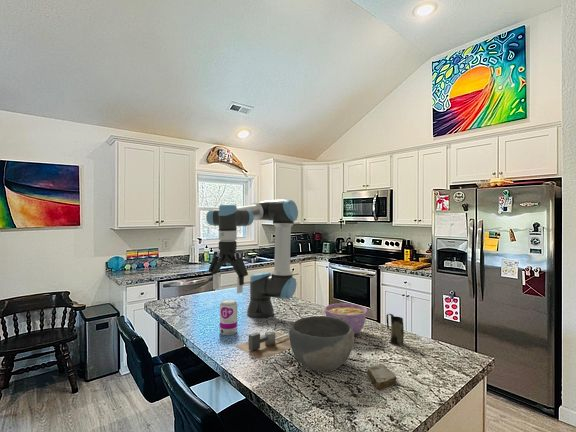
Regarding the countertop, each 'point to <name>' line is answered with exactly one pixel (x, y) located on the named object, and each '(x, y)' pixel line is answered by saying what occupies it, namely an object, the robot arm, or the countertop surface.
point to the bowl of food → (348, 314)
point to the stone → (381, 377)
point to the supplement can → (228, 317)
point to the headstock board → (268, 347)
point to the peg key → (262, 340)
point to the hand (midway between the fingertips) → (227, 290)
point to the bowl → (321, 342)
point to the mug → (396, 330)
